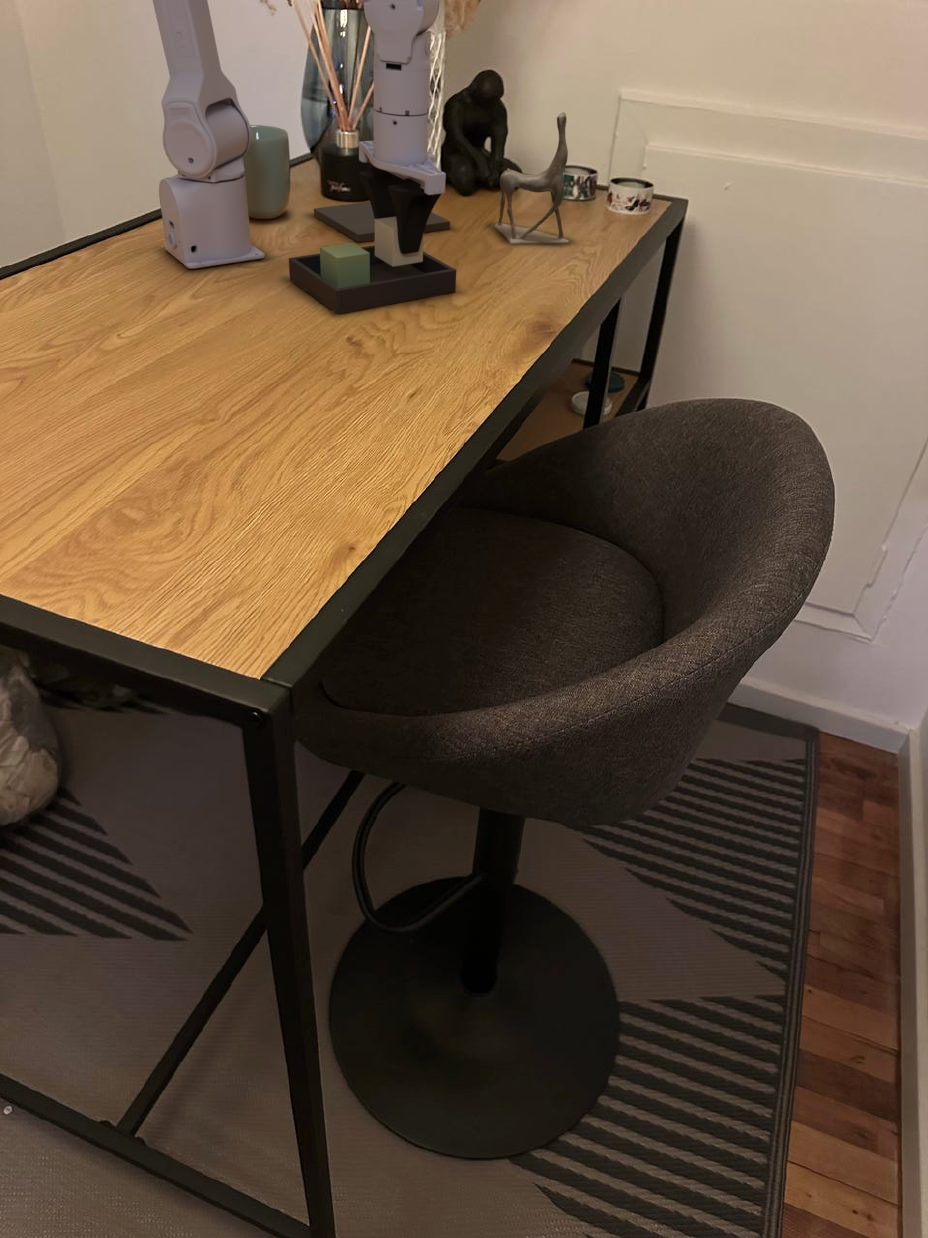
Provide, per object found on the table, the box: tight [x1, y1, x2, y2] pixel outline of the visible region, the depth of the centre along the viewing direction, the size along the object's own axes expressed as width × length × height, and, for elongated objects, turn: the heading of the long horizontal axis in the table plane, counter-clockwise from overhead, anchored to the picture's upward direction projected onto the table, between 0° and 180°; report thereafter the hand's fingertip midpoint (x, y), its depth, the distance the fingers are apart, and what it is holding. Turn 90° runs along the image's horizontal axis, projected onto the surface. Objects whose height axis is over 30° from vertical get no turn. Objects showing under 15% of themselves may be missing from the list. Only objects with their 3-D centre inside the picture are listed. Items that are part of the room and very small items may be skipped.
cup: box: [243, 124, 292, 220], centre depth 117 cm, size 8×8×10 cm
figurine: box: [493, 112, 569, 245], centre depth 115 cm, size 11×6×15 cm, turn 57°
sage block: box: [319, 241, 370, 288], centre depth 100 cm, size 4×4×4 cm
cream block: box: [374, 217, 425, 267], centre depth 102 cm, size 4×4×4 cm
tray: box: [288, 244, 458, 315], centre depth 102 cm, size 15×11×2 cm
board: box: [313, 201, 451, 243], centre depth 121 cm, size 14×12×1 cm
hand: (399, 245), depth 102 cm, fingers closed on cream block, 4 cm apart
